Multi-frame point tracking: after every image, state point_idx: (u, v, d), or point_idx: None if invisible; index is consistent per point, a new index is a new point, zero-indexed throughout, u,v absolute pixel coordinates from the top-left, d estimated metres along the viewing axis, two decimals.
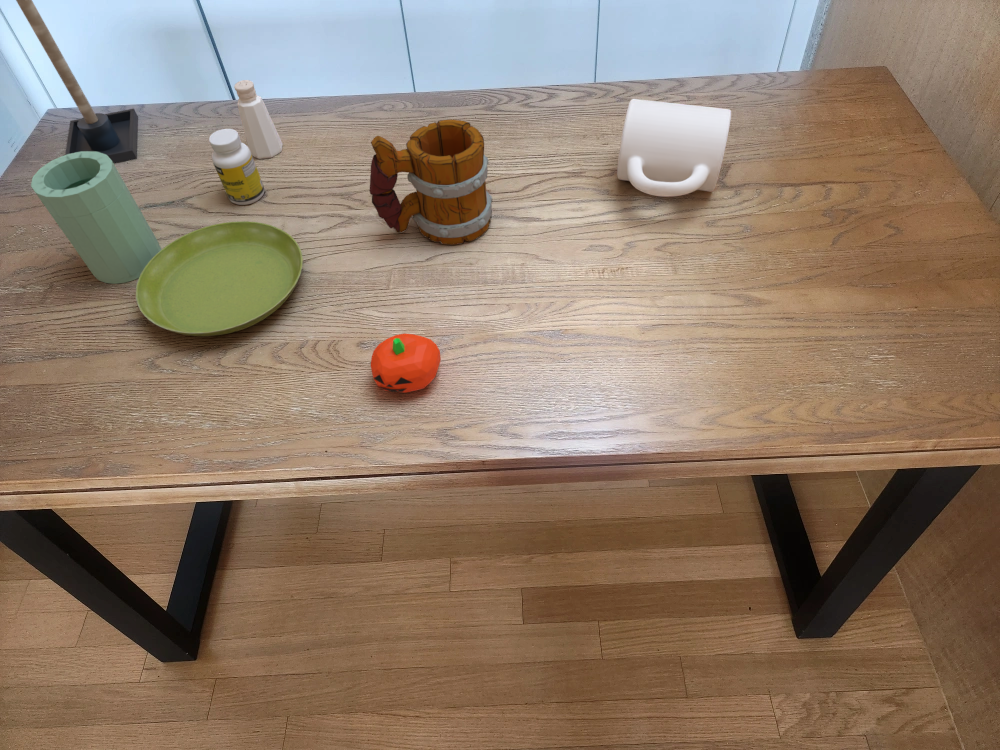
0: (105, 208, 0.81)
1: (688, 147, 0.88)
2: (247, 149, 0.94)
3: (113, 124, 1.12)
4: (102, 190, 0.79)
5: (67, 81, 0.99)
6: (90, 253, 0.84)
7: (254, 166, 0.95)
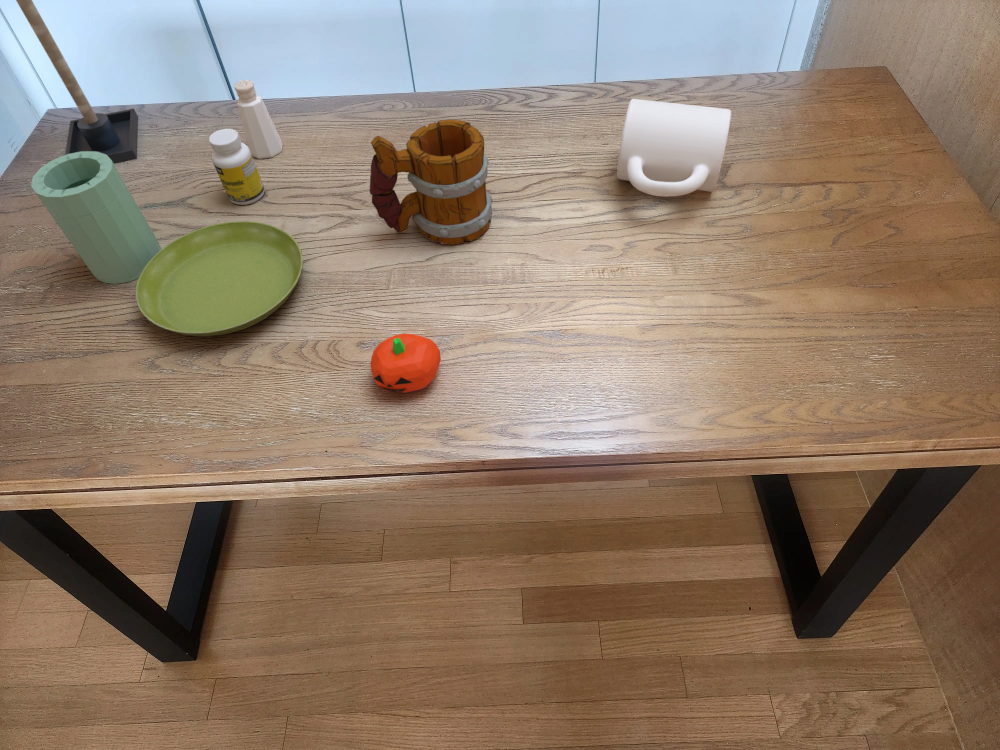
0: (105, 208, 0.81)
1: (688, 147, 0.88)
2: (247, 149, 0.94)
3: (113, 124, 1.12)
4: (102, 190, 0.79)
5: (67, 81, 0.99)
6: (90, 253, 0.84)
7: (254, 166, 0.95)
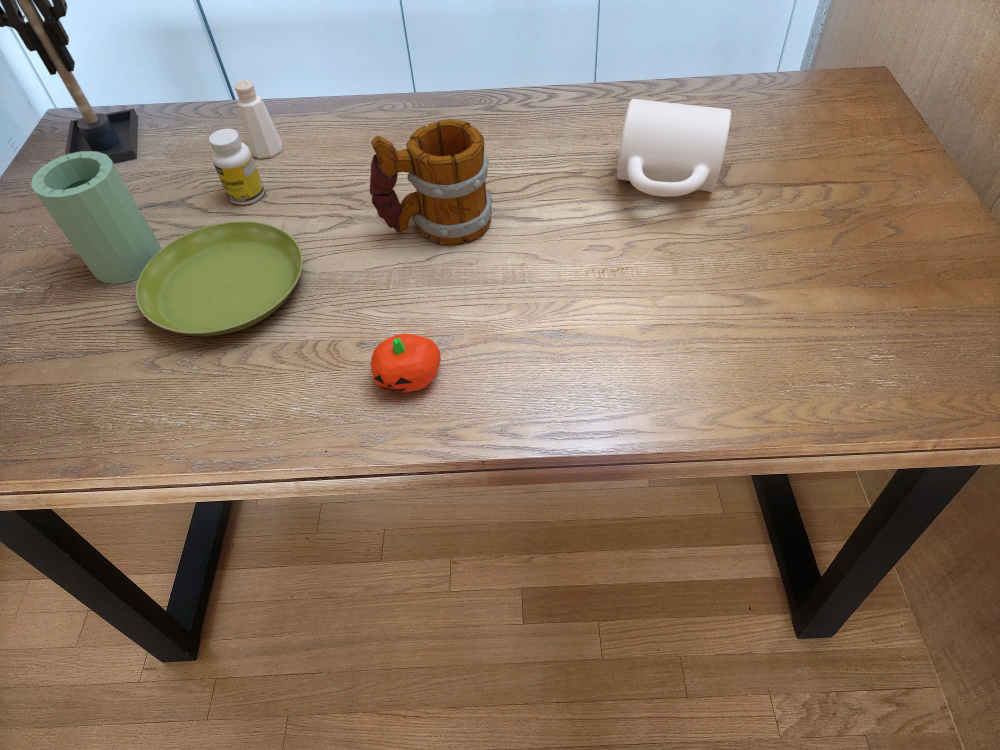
0: (105, 208, 0.81)
1: (688, 147, 0.88)
2: (247, 149, 0.94)
3: (113, 124, 1.12)
4: (102, 190, 0.79)
5: (67, 81, 0.99)
6: (90, 253, 0.84)
7: (254, 166, 0.95)
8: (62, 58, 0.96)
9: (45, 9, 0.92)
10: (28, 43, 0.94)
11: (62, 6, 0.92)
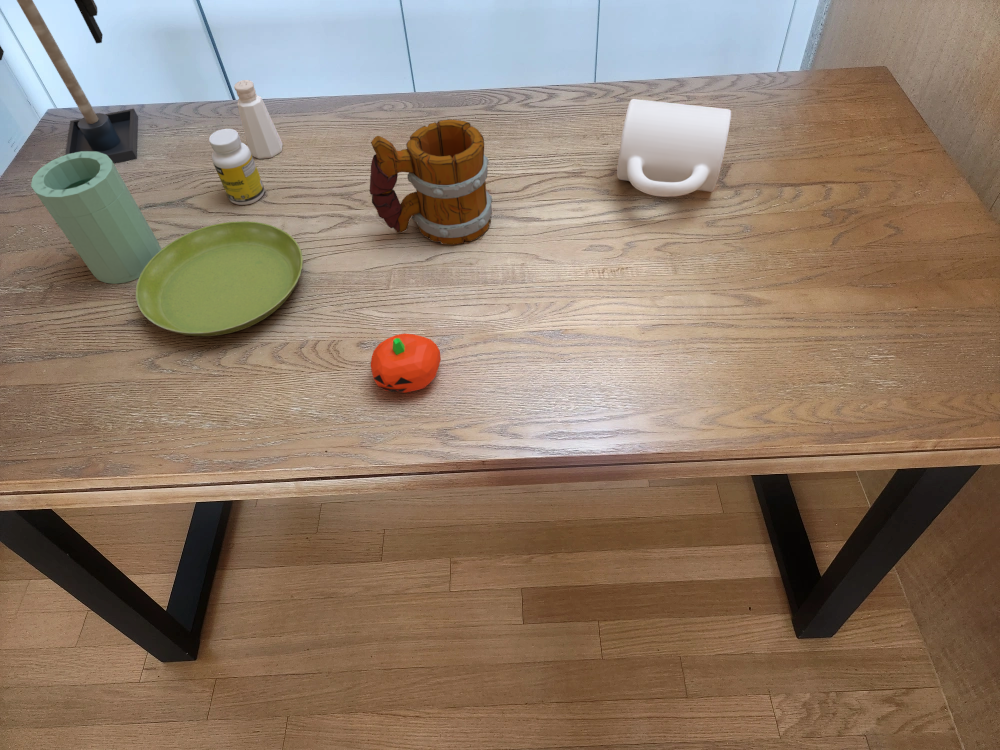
0: (105, 208, 0.81)
1: (688, 147, 0.88)
2: (247, 149, 0.94)
3: (113, 124, 1.12)
4: (102, 190, 0.79)
5: (67, 81, 0.99)
6: (90, 253, 0.84)
7: (254, 166, 0.95)
8: (90, 29, 0.95)
9: None
10: None
11: None
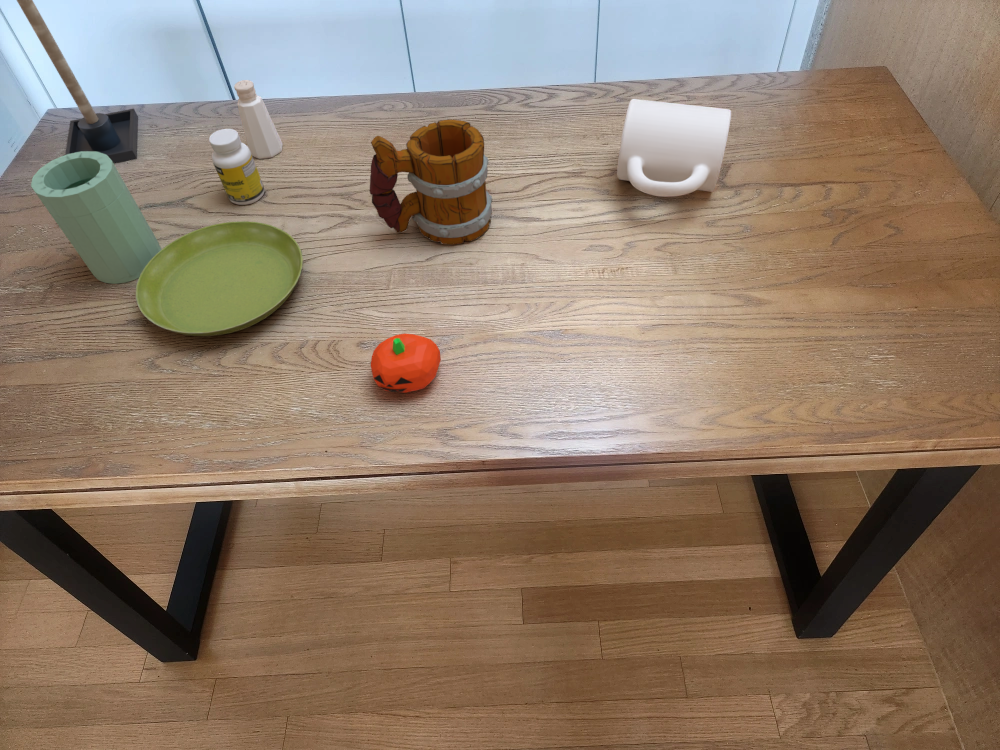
0: (105, 208, 0.81)
1: (688, 147, 0.88)
2: (247, 149, 0.94)
3: (113, 124, 1.12)
4: (102, 190, 0.79)
5: (67, 81, 0.99)
6: (90, 253, 0.84)
7: (254, 166, 0.95)
8: None
9: None
10: None
11: None
